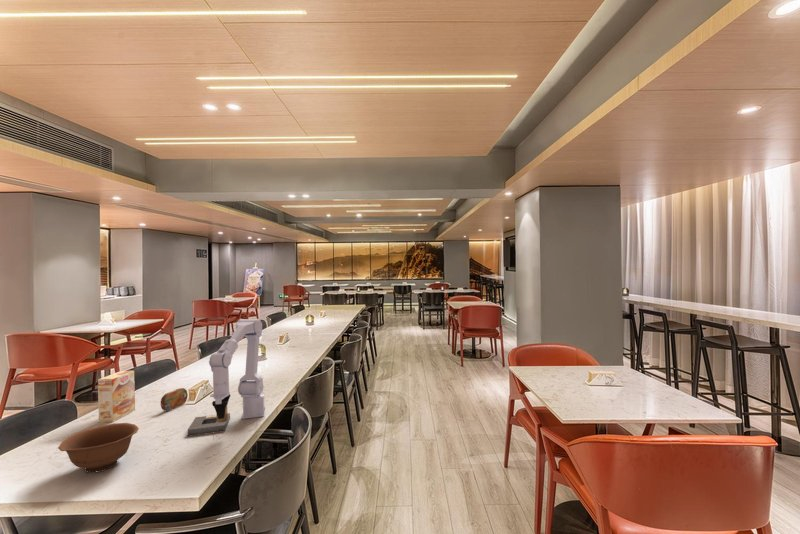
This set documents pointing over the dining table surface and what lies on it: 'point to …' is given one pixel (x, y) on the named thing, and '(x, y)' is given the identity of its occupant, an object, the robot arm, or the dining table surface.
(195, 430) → the plate
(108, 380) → the coffeecake box
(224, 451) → the dining table surface
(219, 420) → the peg
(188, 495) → the dining table surface
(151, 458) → the dining table surface
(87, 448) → the bowl
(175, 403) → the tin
